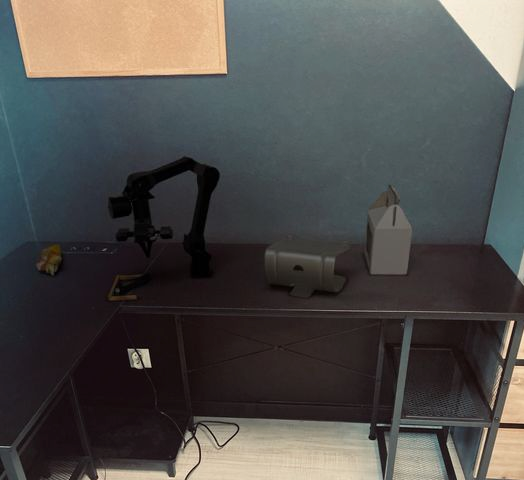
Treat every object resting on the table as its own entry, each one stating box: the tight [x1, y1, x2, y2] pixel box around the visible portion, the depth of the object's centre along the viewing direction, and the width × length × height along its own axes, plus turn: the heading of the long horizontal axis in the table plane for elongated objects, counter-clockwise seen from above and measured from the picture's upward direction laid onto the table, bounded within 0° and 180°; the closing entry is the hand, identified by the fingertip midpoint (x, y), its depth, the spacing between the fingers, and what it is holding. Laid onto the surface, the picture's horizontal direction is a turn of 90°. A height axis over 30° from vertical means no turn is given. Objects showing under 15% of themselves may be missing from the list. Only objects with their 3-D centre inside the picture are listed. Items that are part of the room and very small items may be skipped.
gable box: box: [363, 184, 413, 276], centre depth 196 cm, size 22×13×28 cm, turn 176°
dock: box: [107, 274, 142, 301], centre depth 188 cm, size 10×19×2 cm, turn 4°
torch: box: [35, 243, 63, 276], centre depth 208 cm, size 8×8×25 cm
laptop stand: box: [264, 234, 352, 298], centre depth 184 cm, size 26×24×16 cm
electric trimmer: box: [114, 272, 152, 296], centre depth 189 cm, size 4×16×3 cm, turn 142°
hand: (148, 257), depth 185 cm, fingers closed
